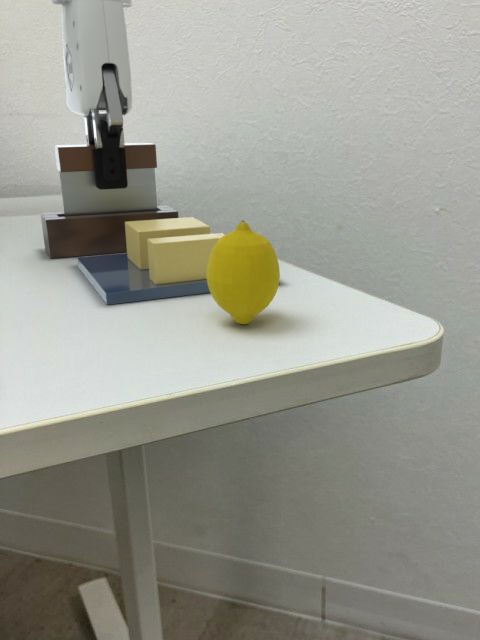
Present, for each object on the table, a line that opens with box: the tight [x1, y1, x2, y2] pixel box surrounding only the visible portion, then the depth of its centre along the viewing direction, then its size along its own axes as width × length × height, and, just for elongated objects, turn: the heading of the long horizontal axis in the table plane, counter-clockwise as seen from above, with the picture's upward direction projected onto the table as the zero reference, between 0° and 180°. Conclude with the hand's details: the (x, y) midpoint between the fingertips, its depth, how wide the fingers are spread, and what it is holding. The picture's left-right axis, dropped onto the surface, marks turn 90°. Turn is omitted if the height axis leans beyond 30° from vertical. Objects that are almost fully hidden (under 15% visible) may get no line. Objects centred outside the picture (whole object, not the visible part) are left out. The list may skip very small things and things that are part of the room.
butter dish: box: [76, 252, 211, 306], centre depth 63 cm, size 16×13×1 cm
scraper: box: [54, 142, 158, 217], centre depth 70 cm, size 10×2×8 cm, turn 116°
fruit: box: [206, 219, 281, 325], centre depth 50 cm, size 6×6×8 cm
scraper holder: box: [40, 205, 179, 259], centre depth 72 cm, size 14×4×4 cm, turn 116°
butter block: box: [125, 216, 211, 270], centre depth 64 cm, size 7×5×4 cm
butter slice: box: [147, 232, 226, 285], centre depth 59 cm, size 7×2×4 cm, turn 116°
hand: (108, 184), depth 70 cm, fingers closed on scraper, 2 cm apart
